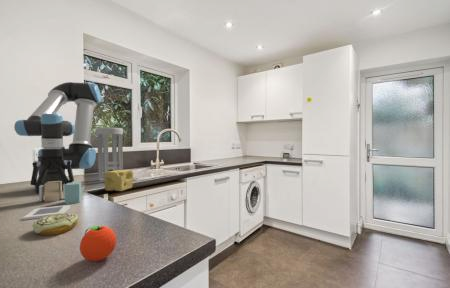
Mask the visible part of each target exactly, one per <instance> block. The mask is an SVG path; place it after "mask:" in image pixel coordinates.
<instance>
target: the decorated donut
mask: <svg viewBox="0 0 450 288" xmlns="http://www.w3.org/2000/svg"><path fill="white" fill-rule="evenodd" d="M78 221H79V217H78V215H77V214H76V213H71V212H66V213H60V214H55V215H50V216H46V217H43V218H38V219H37V220H35V221H34V222H33V224H32V228H33V231H34V233H36V234H38V235H40V236H43V237H45V236H55V235H60V234H63V233H66V232H69V231H70V230H73V229H74V227H75V226H76V225H77V224H78Z"/></svg>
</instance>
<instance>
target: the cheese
mask: <svg viewBox="0 0 450 288" xmlns="http://www.w3.org/2000/svg"><path fill="white" fill-rule="evenodd" d="M133 183H134V170H133V169H123V170H118V169H117V170H115V171H112V170H109V172H105V183H104V190H105V191H109V192H112V191H115V192H123V191H126V190H129V189H132V188H133Z"/></svg>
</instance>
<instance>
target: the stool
mask: <svg viewBox="0 0 450 288" xmlns="http://www.w3.org/2000/svg"><path fill="white" fill-rule="evenodd" d="M95 134H96V136H97V178H98V179H97V181H98V180H103V183H104V182H105V172H110V170H111V171H115V170H124V160H123V159H124V156H123V155H124V153H123V146H124V145H123V134H124V128H121V127H96V128H95ZM109 135H110V136H111V159H112V161H109Z"/></svg>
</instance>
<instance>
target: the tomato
mask: <svg viewBox="0 0 450 288" xmlns="http://www.w3.org/2000/svg"><path fill="white" fill-rule="evenodd" d="M116 245H117V235H116V234H115V231H114V230H112V229H111V228H110V227H108V226H105V225H101V226H98V225H95V226H91V227H88V228H87V229H85V231H84V235H83V236H82V237H81V241H80V242H79V251H80V254H81V256H82V257H83V258H84V259H85V260H87V261H90V262H98V261H102V260H105V259H106V258H108V257H109V256H110V255H111V254H112V253H113V251H114V250H115V247H116Z"/></svg>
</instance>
